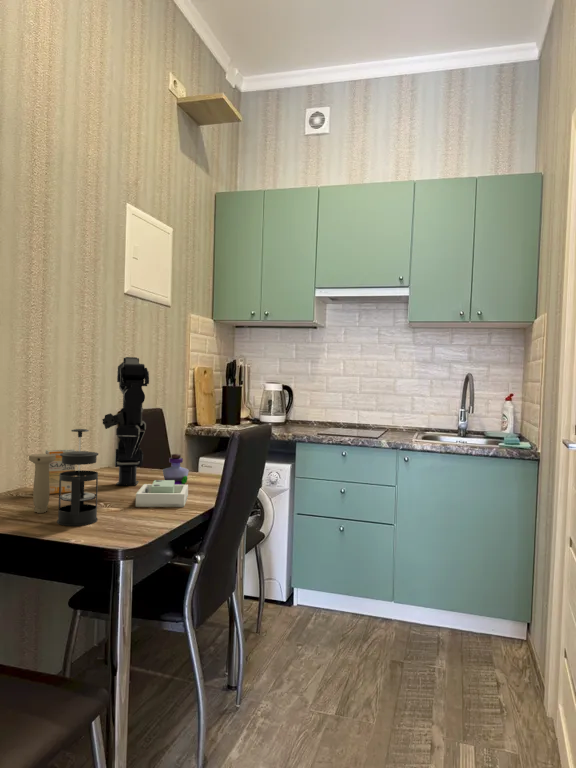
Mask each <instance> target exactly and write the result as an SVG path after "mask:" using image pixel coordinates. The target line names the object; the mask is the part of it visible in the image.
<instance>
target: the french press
mask: <svg viewBox="0 0 576 768" xmlns="http://www.w3.org/2000/svg"><path fill="white" fill-rule="evenodd" d="M70 431H71V432H72V433H73V432H75V433H77V438H78V450H75V451H73V452H66V453H61V454H60V456H62V463H63V464H68V465H75V466H77V469H78V470H75V471H67V472H62V473H60V476H59V493H58V511H57V512H58V513H57V514H58V517H57V518H58V519H57V521H56V523H57V525H59V524H60V526H63V525H64V526H65V527H82V525H84V526H88V524H89V525H92V523H93V524H95V523H97V522H98V517H97V516H98V515H97V512H98V488H99V487H98V486H99V485H98V483H99V478H98V477H99V473H98V472H97V471H94V470H81V466H82V465H94V464H96V463H97V458H98V457H97V456H99V453H98V452H95V451H87V450H81V444H82V443H81V442H82V441H81V439H82V438H83V432H84V433H87V432H89V431H90V430H89V429H85V428H75V429H71V430H70ZM61 481H66V482H72V485H71V492H67V493H63V494H62V493H61ZM91 481H95V482H96V484H95V493H93V492H86V491H85V482H91ZM94 499H95V505H94V504H88V503H84V502H86V501H92V500H94ZM62 501H65V502H70V504H67V505H64V506H61V503H62ZM64 526H63V527H64Z"/></svg>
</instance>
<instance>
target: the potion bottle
mask: <svg viewBox="0 0 576 768" xmlns="http://www.w3.org/2000/svg"><path fill="white" fill-rule="evenodd" d="M181 455H182V454H181V453H173V454H171V457H168V458H169V459H168V462H169V463H171V465H170V466H169V467H166V468H163V469H162V473H163V480H175V485H186V484H187V482H188V475H189V471H190V470H189V469H188V468H187V467H181V464H182V463H183V461H184V459H183V457H181Z"/></svg>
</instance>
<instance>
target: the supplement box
mask: <svg viewBox="0 0 576 768" xmlns="http://www.w3.org/2000/svg"><path fill="white" fill-rule="evenodd" d="M73 451H76V450H75V449H45V454H53V455H56V458H55V460H54V461H53V462H51V463H50V464H49V486H50V489H49V490H50V494H49V495H51V494H59V476H60V473H62V472H67V471H76V465H68V464H63V463H62V456H60V454H61V453H66V452H73ZM71 485H72V482H66V481H61V494H67V493H71Z"/></svg>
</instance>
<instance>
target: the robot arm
mask: <svg viewBox="0 0 576 768" xmlns="http://www.w3.org/2000/svg"><path fill="white" fill-rule="evenodd" d="M116 372H117V374H116V375H117V377H116V378H117V379H116V382H117V383H118V386H119V387H118V388H119V390H120V391H121V393H122V408H121V409H120V410H119V411H120V412H119V413H117V414H112V413H108V414H107V413H106V414H105V415H104V417H103V418H102V419H101V421H102V425H104V426H103V427H104V429H105V430H107V429H110V428H112V427H114V426H117V425H119V426H118V427H117V428H116V434H115V435H116V437H117V438H118V439H120V440H119V441H118V443H117V448H115V452H114V453H115V456H114V467H115V468H118V481H117V482H116V483H115V486H137V485H138V484H139V481H140V480H137V467H143V466H144V465H143V464H144V452H143V450H142V448H141V447H140V444H141V442H142V439H143V438H144V435H145V432H146V429H147V423H146V422H145V420H143V412H144V408H143V404H144V403H145V399H146V395H145V392H144V390H143V387H148V385H149V384H150V373H149V372H150V371H148V368H147V367H146V365H145V364H144V363H140V358H139V357H133V356H125V357H123V361H122V362H121V363H120V364H119V365H118V366H117V371H116Z"/></svg>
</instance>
